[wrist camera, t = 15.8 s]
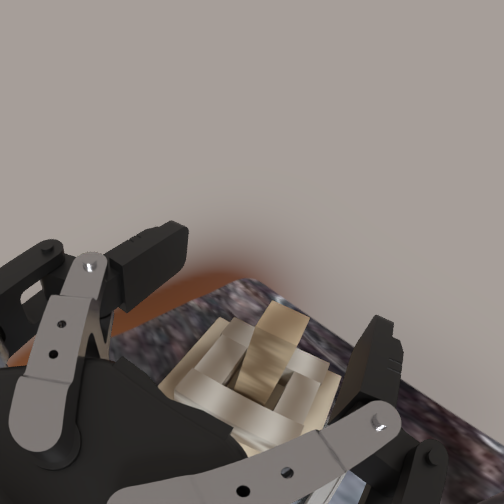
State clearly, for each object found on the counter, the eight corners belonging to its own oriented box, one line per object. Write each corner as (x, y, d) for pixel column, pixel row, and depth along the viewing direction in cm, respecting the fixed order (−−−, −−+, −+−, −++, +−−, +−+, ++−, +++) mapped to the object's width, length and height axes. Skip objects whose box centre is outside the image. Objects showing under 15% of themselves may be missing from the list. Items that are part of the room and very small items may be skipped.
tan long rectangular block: (274, 386, 36) (311, 313, 29) (260, 412, 33) (297, 345, 25) (246, 372, 37) (274, 296, 29) (230, 398, 34) (255, 326, 26)
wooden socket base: (337, 381, 40) (353, 360, 37) (292, 488, 26) (310, 479, 23) (218, 323, 45) (223, 297, 42) (143, 407, 31) (139, 387, 28)
